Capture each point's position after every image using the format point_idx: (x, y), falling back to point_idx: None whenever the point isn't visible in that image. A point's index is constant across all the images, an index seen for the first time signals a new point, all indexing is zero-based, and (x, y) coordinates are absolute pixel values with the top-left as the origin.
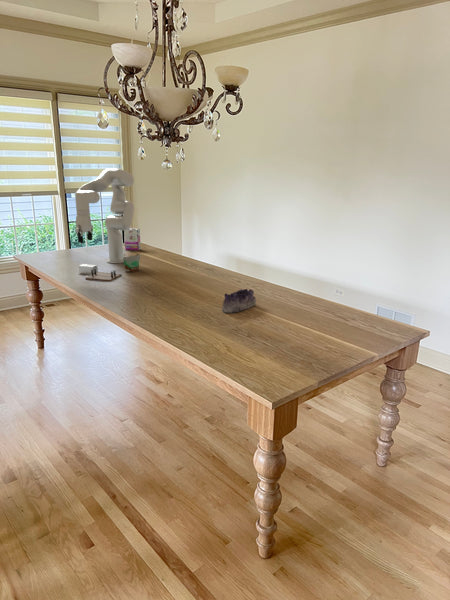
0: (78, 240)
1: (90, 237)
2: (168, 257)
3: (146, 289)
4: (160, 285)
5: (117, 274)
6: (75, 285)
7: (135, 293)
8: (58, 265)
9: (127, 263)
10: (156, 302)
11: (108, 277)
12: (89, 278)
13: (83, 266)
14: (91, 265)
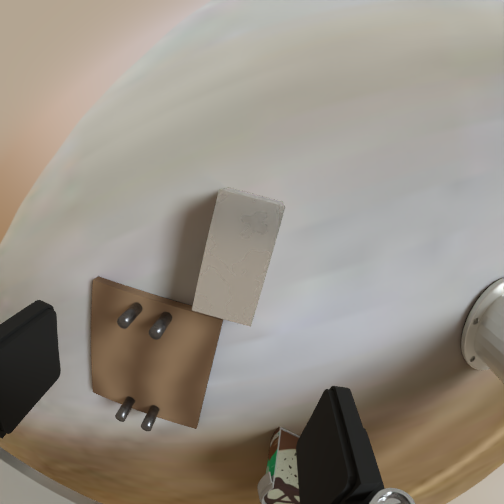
0: (22, 318)
1: (304, 466)
2: (485, 463)
3: (76, 467)
4: (122, 495)
5: (184, 416)
6: (20, 258)
7: (38, 441)
8: (408, 9)
9: (266, 470)
10: (20, 460)
11: (124, 386)
12: (92, 301)
13: (209, 233)
14: (236, 289)
